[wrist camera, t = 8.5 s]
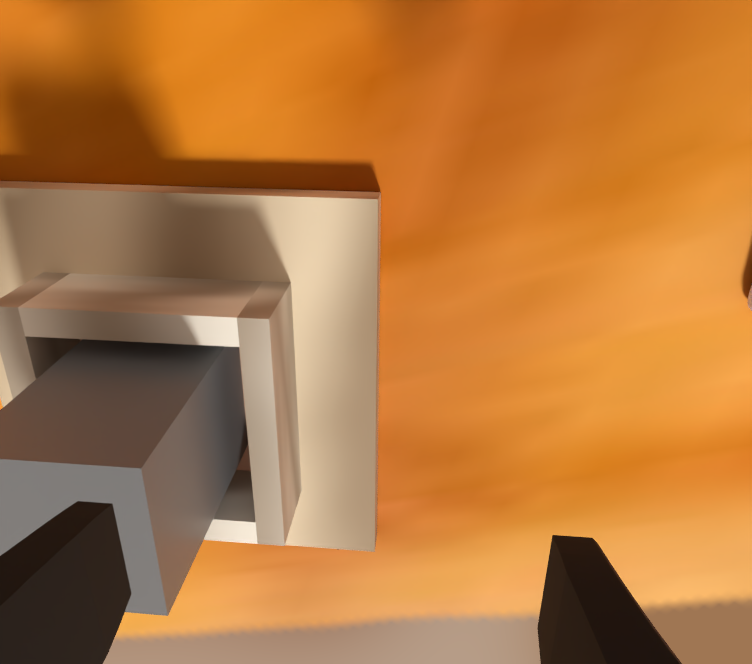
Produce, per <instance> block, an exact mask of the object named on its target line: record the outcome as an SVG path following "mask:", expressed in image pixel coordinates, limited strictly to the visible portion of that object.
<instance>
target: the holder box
mask: <svg viewBox="0 0 752 664" xmlns="http://www.w3.org/2000/svg"><path fill="white" fill-rule="evenodd" d="M380 217H381V192H358V191H324V190H291V189H257V188H224V187H190V186H157V185H123V184H90V183H56V182H23V181H0V398H1V402H2V405H3V407H5V406H6V405H7V404H8V403H9V402H10V401H12V400H13V399H14V398H15V397H16V396H17V395H18V394H20V393H21V392H22V391H23V390H24V389H25V388H27V387H28V386H29V385H30V384H31V383H32V382H34V381H35V380H36V379H37V378H38V377H39V376H41V375H42V374H43V373H44V372H45V371H46V370H48V369H49V368H50V367H51V366H52V365H53V364H54V363H56V362H57V361H58V360H59V359H60V358H61V357H63V356H64V355H65V354H66V353H67V352H68V351H70V350H71V349H72V348H73V347H74V346H75V345H77V344H78V343H79V342H80V341H81V340H82V339H89V340H109V341H129V342H148V343H168V344H188V345H208V346H228V347H239V352H240V363H241V374H242V385H243V396H244V407H245V418H246V428H247V439H248V446H247V448H246V450H245V452H244V454H243V456H242V458H241V461H240V463H239V465H238V467H237V469H236V471H235V473H234V476H233V478H232V480H231V482H230V484H229V486H228V488H227V490H226V493H225V495H224V497H223V499H222V501H221V503H220V505H219V508H218V510H217V512H216V514H215V516H214V518H213V520H212V522H211V525H210V527H209V529H208V531H207V533H206V535H205V537H204V540H214V541H227V542H241V543H254V544H267V545H280V546H285V545H292V546H306V547H319V548H332V549H345V550H359V551H372V552H375V545H376V538H377V480H378V392H379V305H380Z"/></svg>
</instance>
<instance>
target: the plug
mask: <svg viewBox="0 0 752 664" xmlns="http://www.w3.org/2000/svg"><path fill="white" fill-rule="evenodd" d="M247 446H248V439H247V428H246V418H245V407H244V396H243V385H242V374H241V363H240V352H239V347H228V346H208V345H188V344H168V343H148V342H129V341H109V340H89V339H82V340H81V341H80V342H79V343H78V344H77V345H75V346H74V347H73V348H72V349H71V350H70V351H68V352H67V353H66V354H65V355H64V356H63V357H61V358H60V359H59V360H58V361H57V362H56V363H54V364H53V365H52V366H51V367H50V368H49V369H48V370H46V371H45V372H44V373H43V374H42V375H41V376H39V377H38V378H37V379H36V380H35V381H34V382H32V383H31V384H30V385H29V386H28V387H27V388H25V389H24V390H23V391H22V392H21V393H20V394H18V395H17V396H16V397H15V398H14V399H13V400H12V401H10V402H9V403H8V404H7V405H6V406H5V407H3V408H2V409H1V410H0V556H1V555H2V554H4V553H5V552H6V551H8V550H9V549H10V548H12V547H13V546H15V545H16V544H17V543H19V542H20V541H21V540H23V539H24V538H26V537H27V536H28V535H30V534H31V533H33V532H34V531H35V530H37V529H38V528H39V527H41V526H42V525H44V524H45V523H46V522H48V521H49V520H51V519H52V518H53V517H55V516H56V515H58V514H59V513H61V512H62V511H63V510H65V509H66V508H68V507H69V506H71V505H72V504H74V503H76V502H77V501H84V502H98V503H112V504H113V508H114V513H115V518H116V522H117V527H118V532H119V537H120V541H121V546H122V551H123V556H124V560H125V565H126V570H127V575H128V579H129V584H130V589H131V597H130V599H129V602H128V604H127V607H126V610H125V612H131V613H143V614H154V615H166V616H168V614H169V612H170V610H171V608H172V606H173V604H174V601H175V599H176V597H177V595H178V593H179V591H180V589H181V586H182V584H183V582H184V580H185V578H186V576H187V574H188V572H189V569H190V567H191V565H192V563H193V561H194V559H195V557H196V554H197V552H198V550H199V548H200V546H201V544H202V542H203V540H204V537H205V535H206V533H207V531H208V529H209V527H210V525H211V522H212V520H213V518H214V516H215V514H216V512H217V510H218V508H219V505H220V503H221V501H222V499H223V497H224V495H225V493H226V490H227V488H228V486H229V484H230V482H231V480H232V478H233V476H234V473H235V471H236V469H237V467H238V465H239V463H240V461H241V458H242V456H243V454H244V452H245V450H246V448H247Z"/></svg>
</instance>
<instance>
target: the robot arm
mask: <svg viewBox="0 0 752 664" xmlns="http://www.w3.org/2000/svg"><path fill="white" fill-rule="evenodd" d="M748 306H749V308H750V310H751V311H752V285H751V289H750V292H749V296H748ZM130 597H131V589H130V584H129V579H128V575H127V570H126V565H125V560H124V556H123V551H122V546H121V541H120V537H119V532H118V527H117V522H116V518H115V513H114V508H113V504H112V503H98V502H84V501H77V502H76V503H74V504H72V505H71V506H69V507H68V508H66V509H65V510H63V511H62V512H61V513H59V514H58V515H56V516H55V517H53V518H52V519H51V520H49V521H48V522H46V523H45V524H44V525H42V526H41V527H39V528H38V529H37V530H35V531H34V532H33V533H31V534H30V535H28V536H27V537H26V538H24V539H23V540H21V541H20V542H19V543H17V544H16V545H15V546H13V547H12V548H10V549H9V550H8V551H6V552H5V553H4V554H2V555H1V556H0V664H103V662H104V660H105V658H106V656H107V654H108V652H109V649H110V647H111V645H112V642H113V640H114V637H115V635H116V633H117V630H118V628H119V625H120V623H121V620H122V617H123V615H124V612H125V610H126V607H127V604H128V602H129V599H130ZM538 637H539V648H540V659H541V664H682V663H681V662H680V661H679V659H678V658H677V657H676V655H675V654H674V653H673V651H672V650H671V649H670V648H669V646H668V645H667V643H666V642H665V641H664V639H663V638H662V637H661V635H660V634H659V633H658V632H657V630H656V629H655V627H654V626H653V624H652V623H651V622H650V620H649V619H648V618H647V616H646V615H645V613H644V612H643V610H642V609H641V608H640V606H639V605H638V603H637V602H636V600H635V599H634V598H633V596H632V595H631V593H630V592H629V590H628V589H627V587H626V586H625V584H624V583H623V581H622V580H621V578H620V577H619V575H618V574H617V572H616V571H615V569H614V568H613V566H612V565H611V563H610V562H609V560H608V559H607V557H606V556H605V554H604V553H603V551H602V549H601V548H600V546H599V545H598V544H597V542H596V541H595V540H594V539H593V538H586V537H572V536H558V535H553V536H552V542H551V549H550V555H549V561H548V567H547V573H546V579H545V585H544V591H543V598H542V604H541V610H540V616H539V622H538Z"/></svg>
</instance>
